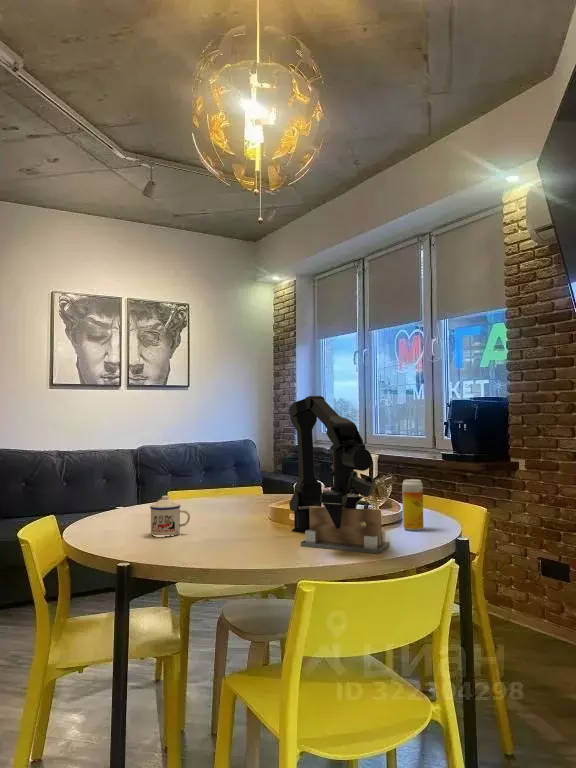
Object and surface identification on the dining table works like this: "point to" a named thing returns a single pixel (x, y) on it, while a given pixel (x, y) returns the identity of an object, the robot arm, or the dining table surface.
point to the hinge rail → (368, 546)
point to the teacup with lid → (166, 517)
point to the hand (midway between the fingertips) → (344, 525)
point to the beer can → (412, 505)
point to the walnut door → (346, 525)
